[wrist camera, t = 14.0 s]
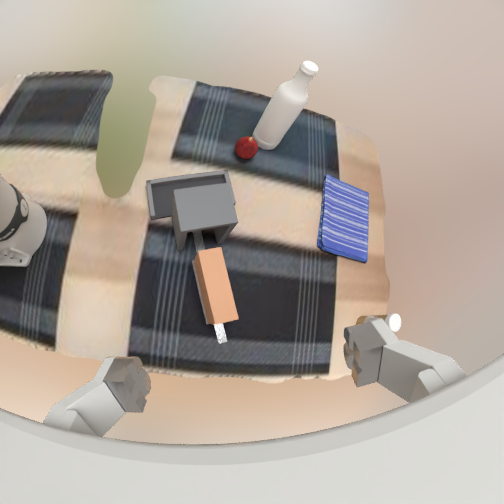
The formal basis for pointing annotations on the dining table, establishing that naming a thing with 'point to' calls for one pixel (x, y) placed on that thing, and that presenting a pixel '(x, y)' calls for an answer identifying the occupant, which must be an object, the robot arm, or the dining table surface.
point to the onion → (246, 147)
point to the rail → (199, 246)
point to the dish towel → (344, 220)
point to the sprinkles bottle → (390, 320)
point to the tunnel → (203, 211)
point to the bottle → (284, 107)
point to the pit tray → (164, 188)
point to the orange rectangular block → (214, 286)
